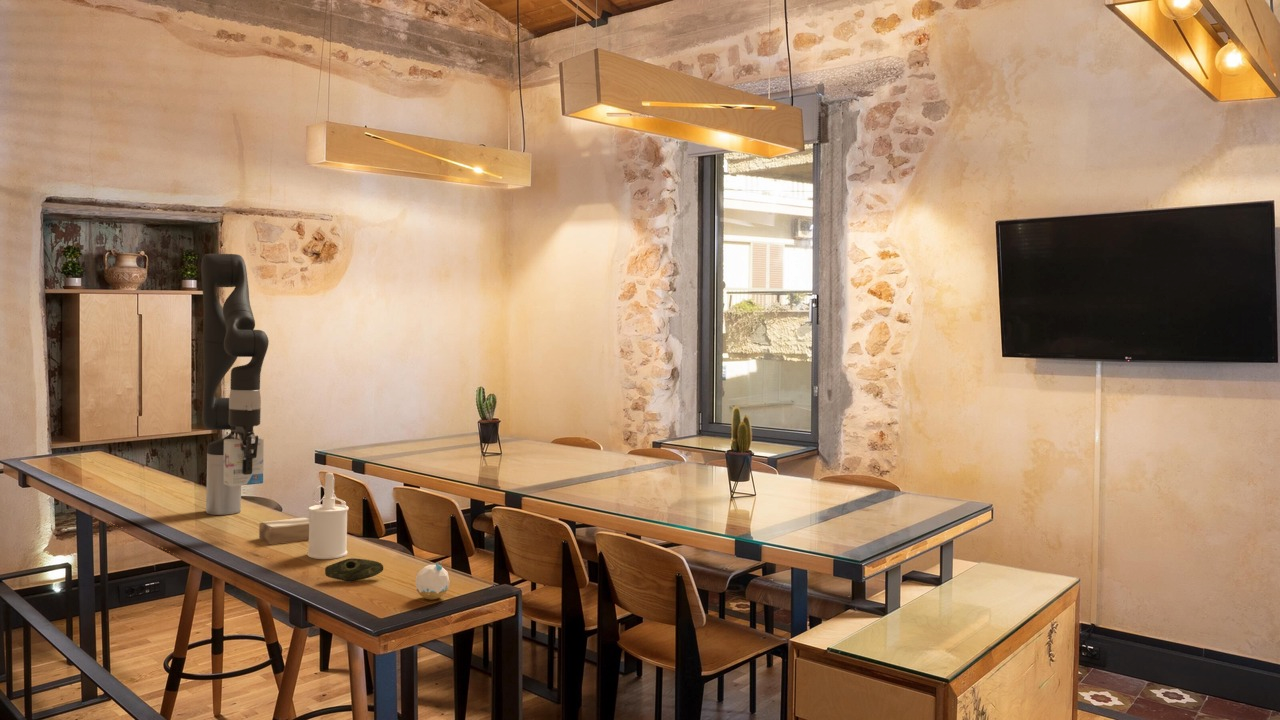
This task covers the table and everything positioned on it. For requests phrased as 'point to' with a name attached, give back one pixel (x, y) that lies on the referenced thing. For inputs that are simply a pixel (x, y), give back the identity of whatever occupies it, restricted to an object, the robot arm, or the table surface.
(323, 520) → the white canister grenade
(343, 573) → the decorative stone
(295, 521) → the open box
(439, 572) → the ornament
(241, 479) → the ink box
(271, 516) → the table surface
